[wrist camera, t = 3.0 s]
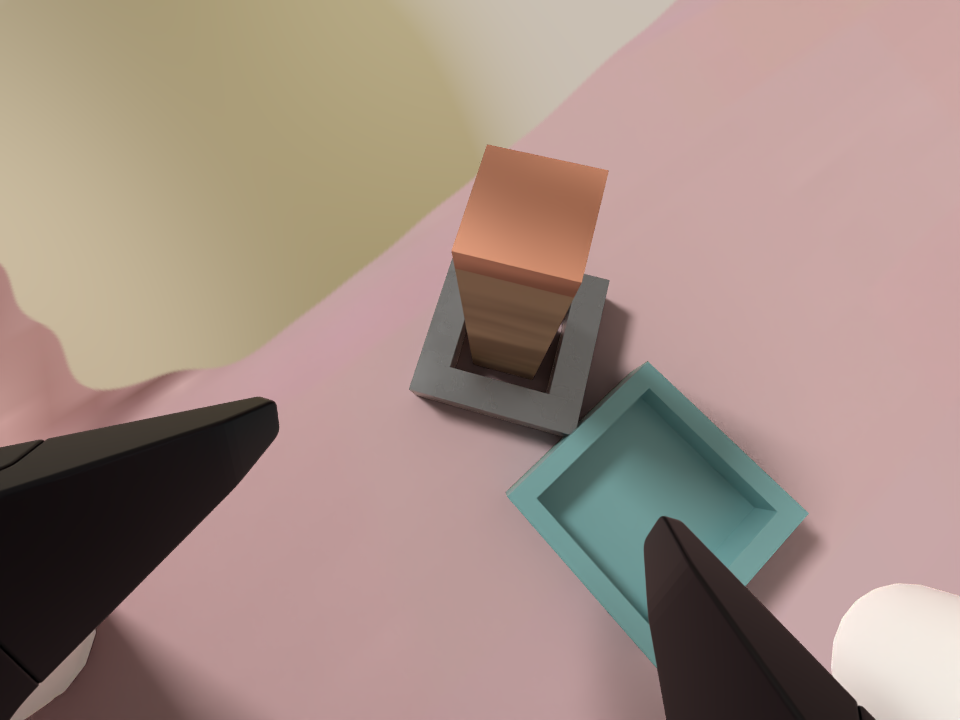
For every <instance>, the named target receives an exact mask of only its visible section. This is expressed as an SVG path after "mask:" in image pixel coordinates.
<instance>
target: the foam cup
mask: <svg viewBox="0 0 960 720" xmlns="http://www.w3.org/2000/svg"><path fill="white" fill-rule="evenodd" d="M95 634H96V629H95V630H94V631H93V632H92V633H91V634H90V635H89V636H88V637H87V638H86V639H85V640H84V641H83V642H82V643H81V644H80V645H79V646H78V647H77V648H76V649H75V650H74V651H73V652H72V653H71V654H70V655H69V656H68V657H67V658H66V659H65V660H64V661H63V662H62V663H61V664H60V665H59V666H58V667H57V668H56V669H55V670H54V671H53V672H52V673H51V674H50V675H49V676H48V677H47V678H46V679H45V680H44V681H43V682H42V683H39V686H38V687H37V688H36V689H35V690H34V691H33V692H32V693H31V695H30V696H29V697H28V698H27V699H26V700H25V701H24V702H23V704H22V705H21V706H20V707H19V709H18V710H17V711H16V712H15V714H14V715H13V716H12V718H11V719H10V720H25V719H26V718H28V717H29V716H31V715H32V714H33V713H35V712H36V711H38V710H39V709H41V708H42V707H44V706H45V705H47V704H48V703H50V702H51V701H52V700H53V699H54V698H55V697H57V696H58V695H60V694H62V693H63V692H65V691H66V689H67V688H68V687H69V685H70V684H71V683H72V682H73V680H74V679H75V678H76V676H77V675H78V674H79V673H80V671H81V670H82V669H83V667H84V666H85V665H86V662H87V659H88V656H89V653H90V650H91V647H92V644H93V640H94V637H95Z"/></svg>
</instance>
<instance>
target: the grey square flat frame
mask: <svg viewBox="0 0 960 720" xmlns="http://www.w3.org/2000/svg"><path fill="white" fill-rule="evenodd" d="M608 285H609V280H607V279H602V278H598V277H594V276H590V275H586V274H584V275H583V279H582V283H581V285H580V287H579V289H578V291H577V293H576V295H575V297H574V299H573V301H572V303H571V305H570V307H569V309H568V311H567V313H566V315H565V318H564V322H563V327H562V331H561V335H560V339H559V343H558V347H557V351H556V355H555V359H554V363H553V367H552V371H551V375H550V379H549V383H548V387H547V391H546V393H543V392H539V391H536V390H532V389H528V388H525V387H521V386H517V385H514V384H510V383H506V382H503V381H499V380H495V379H492V378H488V377H484V376H481V375H477V374H473V373H470V372H466V371H462V370H459V369H455V368H456V364H457V361H458V358H459V355H460V351H461V348H462V345H463V342H464V338H465V335H466V332H467V329H466V324H465V319H464V313H463V308H462V303H461V298H460V292H459V287H458V282H457V277H456V272H455V266H454V261H453V258H452V261H451V264H450V267H449V270H448V273H447V276H446V279H445V282H444V285H443V288H442V291H441V294H440V297H439V300H438V303H437V306H436V309H435V312H434V315H433V318H432V321H431V324H430V327H429V330H428V333H427V336H426V339H425V342H424V345H423V348H422V351H421V354H420V357H419V360H418V363H417V366H416V369H415V373H414V376H413V379H412V382H411V385H410V388H409V390H410V391H412V392H413V393H414V394H415V395H417V396H420V397H424V398H427V399H431V400H434V401H438V402H441V403H445V404H449V405H452V406H456V407H459V408H463V409H466V410H470V411H473V412H477V413H480V414H484V415H487V416H491V417H495V418H498V419H502V420H505V421H509V422H512V423H516V424H519V425H523V426H526V427H530V428H533V429H537V430H541V431H544V432H548V433H551V434H555V435H558V436H562V437H565V436H568V435H570V434H571V433H572V432H574V431H575V430H576V428H577V424H578V419H579V415H580V410H581V406H582V401H583V397H584V392H585V388H586V383H587V379H588V374H589V370H590V365H591V361H592V356H593V352H594V347H595V343H596V339H597V334H598V330H599V325H600V321H601V316H602V312H603V307H604V303H605V298H606V294H607V289H608Z"/></svg>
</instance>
